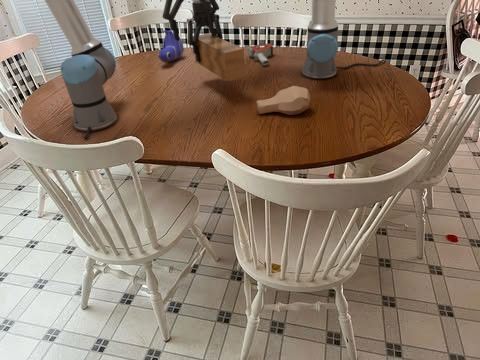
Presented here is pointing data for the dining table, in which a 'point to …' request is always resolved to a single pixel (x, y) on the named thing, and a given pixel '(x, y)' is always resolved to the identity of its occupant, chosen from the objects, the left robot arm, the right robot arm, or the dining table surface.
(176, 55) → the toy
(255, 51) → the tape dispenser
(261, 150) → the dining table surface
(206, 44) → the box
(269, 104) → the squash
